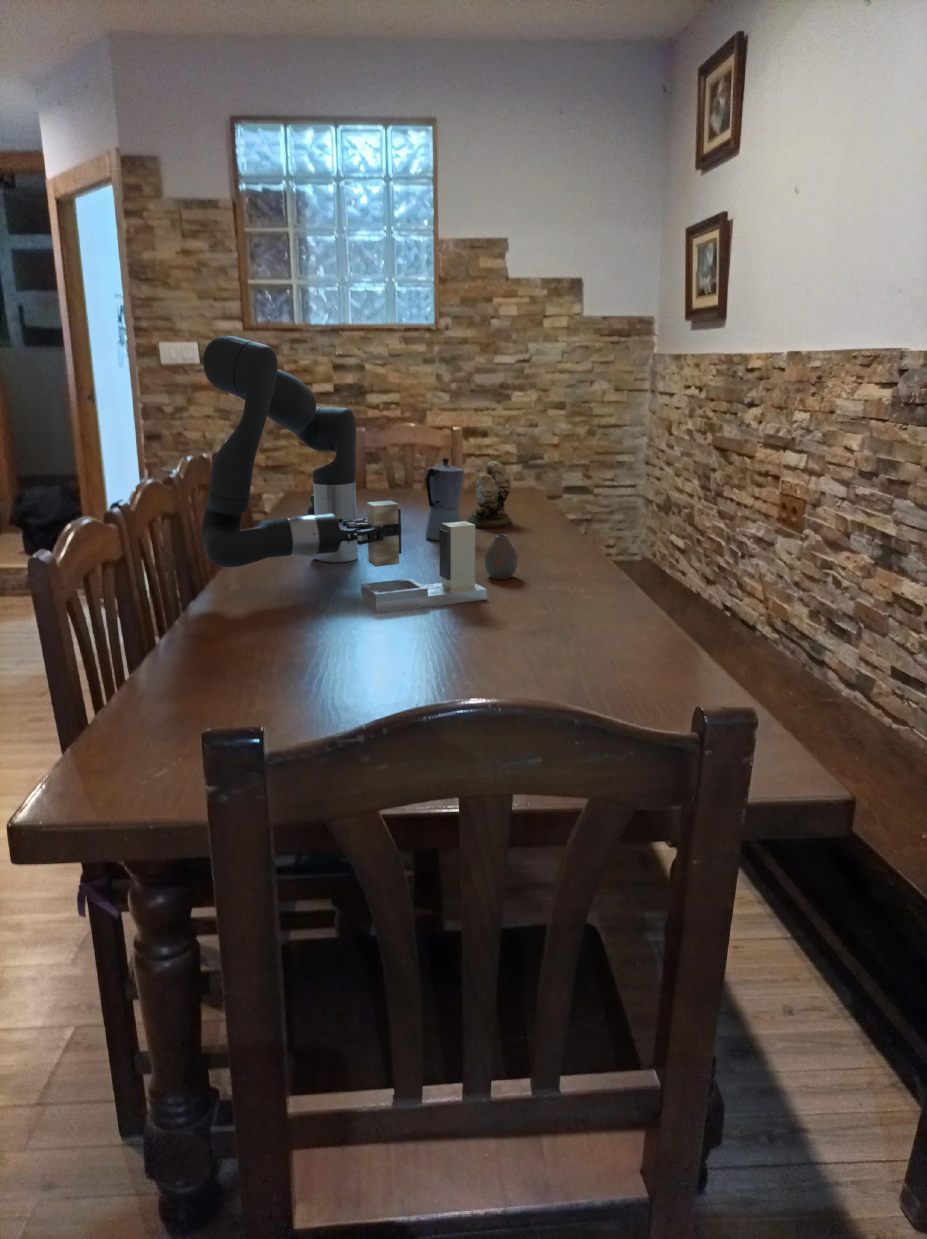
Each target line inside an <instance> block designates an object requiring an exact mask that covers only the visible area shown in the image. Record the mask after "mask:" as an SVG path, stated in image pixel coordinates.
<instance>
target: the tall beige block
mask: <svg viewBox="0 0 927 1239" xmlns="http://www.w3.org/2000/svg"><path fill="white" fill-rule="evenodd" d="M401 513H402V511H401V508H400V507H399V504H398V503H397V502H395V501H393V500H382V501H381V500H380V501H369V502H366V518H367V523H370V524H371V525H388V524H400V525H401V526H402V514H401ZM374 535H377V531H376V532H374ZM367 550H368V551H367V553H368V554H367V555H368V556H367V557H368V563H369V564H371V565H372V566H374V567H375V568H376V567H377V568H378V567H382V566H383V567H384V566H385V567H386V566H395V565H400V555H401V554H402V534H401V535H397V536H387V537H383V540H382V541H377V542H372V543H367Z"/></svg>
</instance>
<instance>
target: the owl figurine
mask: <svg viewBox="0 0 927 1239" xmlns="http://www.w3.org/2000/svg"><path fill="white" fill-rule="evenodd" d="M511 482H512V481H511V477H510V475H508V471H507V469H506V468H505V465H503V464H502V463H501V462H499V461H497V460H491V461H489V462H488V463H487V464H486V467H485V471H484V473H480V474H479V475H478V476H477V480H476V488H475V489H474V490H475V493H476V503H477V506H476V507H475V510H474V511H472V514H471V516H470V517H469V518H468V519H467V520H466V521H467V522H469V523H472V524H474V525H475V529H481V530H482V529H484V530H496V529H502V528H506V527H509V526H510V525H511V524H512V518H511V517H510V516H509V515H508V513H507V512H506V510H505V503H504V502H507V498H508V496H509V495H510V491H511V490H510V489H511Z"/></svg>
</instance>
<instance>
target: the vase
mask: <svg viewBox="0 0 927 1239" xmlns="http://www.w3.org/2000/svg"><path fill="white" fill-rule="evenodd" d="M518 563H519V557H518V552H517V549H516V548H515V546H514V545H513V543H512V542H511V541H510V538H509V537H508V535H506V534H496V535H495V537H494V539H493V540H492V541H491V543H490V545H488V547H487V549H486V551H485V554H484V567H485V571H486V573H487V574H488V575H489V576H490V578H492V579H494V580H508V579H511V578H512V577H513V576H514V574H516V571H517V569H518V565H519V564H518Z"/></svg>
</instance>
